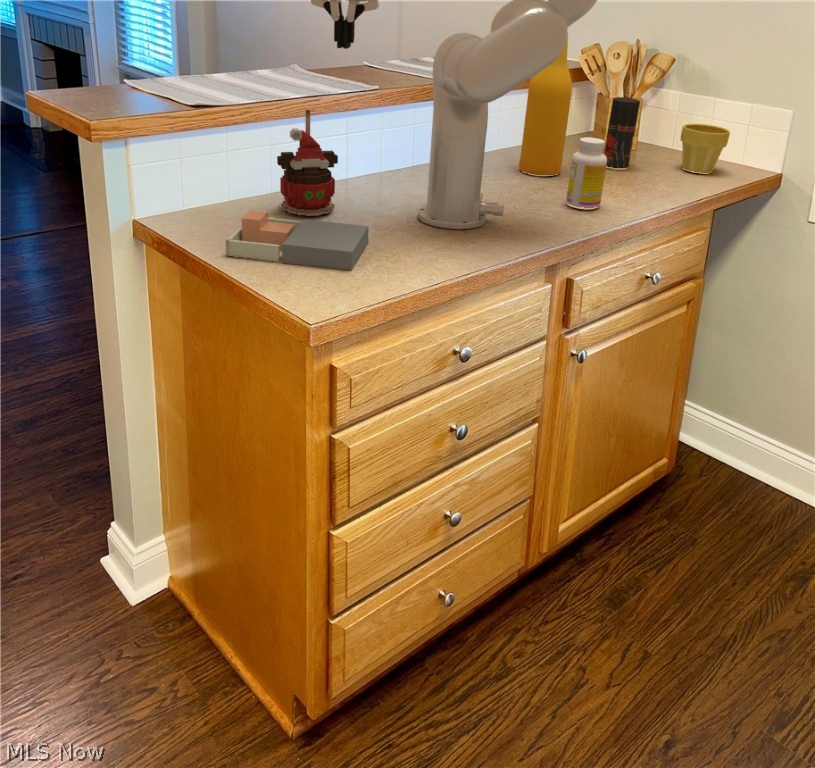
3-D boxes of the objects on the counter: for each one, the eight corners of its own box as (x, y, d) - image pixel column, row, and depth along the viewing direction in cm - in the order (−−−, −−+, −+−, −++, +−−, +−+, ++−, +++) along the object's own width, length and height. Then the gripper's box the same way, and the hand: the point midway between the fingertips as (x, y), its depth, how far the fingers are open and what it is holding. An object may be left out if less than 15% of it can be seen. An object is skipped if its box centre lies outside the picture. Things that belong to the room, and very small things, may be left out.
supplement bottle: (606, 207, 171) (617, 141, 165) (587, 213, 167) (598, 146, 161) (577, 199, 175) (587, 134, 169) (558, 204, 171) (568, 138, 165)
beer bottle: (531, 164, 198) (548, 27, 184) (567, 172, 193) (588, 32, 180) (510, 171, 191) (527, 30, 177) (548, 180, 187) (568, 35, 173)
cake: (328, 202, 164) (330, 103, 155) (343, 217, 156) (345, 114, 148) (273, 204, 161) (271, 104, 152) (284, 220, 153) (283, 115, 144)
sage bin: (300, 236, 146) (300, 221, 145) (278, 262, 135) (278, 246, 134) (252, 230, 147) (251, 215, 146) (226, 256, 136) (225, 240, 135)
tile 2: (294, 242, 142) (294, 224, 141) (287, 251, 138) (287, 233, 137) (267, 239, 143) (267, 221, 141) (259, 248, 139) (259, 230, 137)
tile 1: (268, 211, 141) (250, 209, 141) (259, 220, 137) (241, 218, 137) (268, 238, 143) (250, 236, 143) (260, 247, 139) (242, 245, 140)
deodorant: (630, 171, 197) (642, 103, 190) (604, 169, 197) (615, 101, 190) (625, 164, 203) (637, 98, 195) (599, 163, 203) (610, 96, 195)
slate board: (368, 243, 145) (368, 226, 143) (351, 270, 134) (352, 251, 132) (303, 236, 146) (303, 219, 145) (282, 262, 135) (282, 244, 134)
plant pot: (708, 165, 207) (717, 123, 202) (728, 177, 198) (738, 133, 193) (667, 164, 205) (675, 122, 200) (685, 176, 196) (694, 132, 191)
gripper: (399, -79, 134) (393, 48, 143) (305, -85, 136) (304, 40, 144) (390, -78, 127) (385, 54, 136) (291, -85, 129) (292, 46, 138)
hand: (343, 47), depth 140 cm, fingers closed
